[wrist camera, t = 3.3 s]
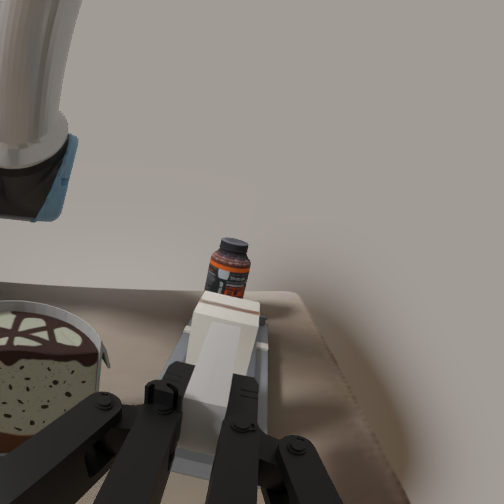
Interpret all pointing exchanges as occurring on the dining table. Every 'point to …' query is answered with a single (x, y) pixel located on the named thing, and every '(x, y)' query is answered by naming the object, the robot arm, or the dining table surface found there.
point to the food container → (43, 367)
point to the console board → (257, 368)
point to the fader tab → (226, 313)
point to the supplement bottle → (229, 268)
